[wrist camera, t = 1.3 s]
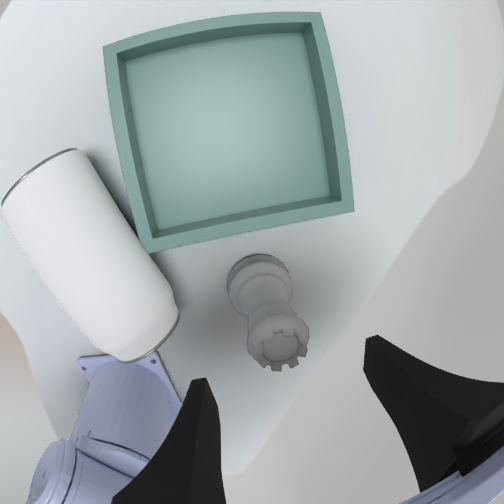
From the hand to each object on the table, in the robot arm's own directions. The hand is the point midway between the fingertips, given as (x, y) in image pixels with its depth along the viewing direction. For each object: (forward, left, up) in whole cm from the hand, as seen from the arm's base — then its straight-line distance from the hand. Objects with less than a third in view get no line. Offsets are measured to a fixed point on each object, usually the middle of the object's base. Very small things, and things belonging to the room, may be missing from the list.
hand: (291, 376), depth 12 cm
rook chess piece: (0, 0, -10) cm, 10 cm away
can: (+11, +12, -6) cm, 17 cm away
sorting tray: (+11, 0, -10) cm, 15 cm away
